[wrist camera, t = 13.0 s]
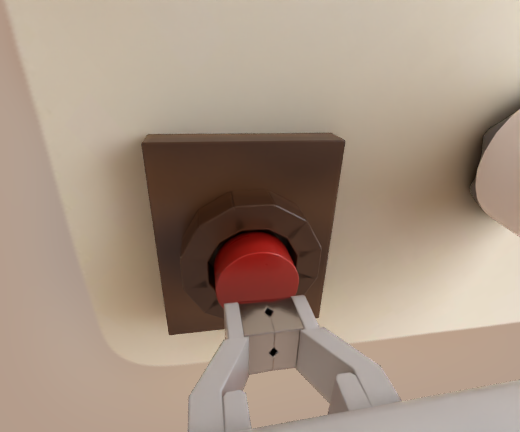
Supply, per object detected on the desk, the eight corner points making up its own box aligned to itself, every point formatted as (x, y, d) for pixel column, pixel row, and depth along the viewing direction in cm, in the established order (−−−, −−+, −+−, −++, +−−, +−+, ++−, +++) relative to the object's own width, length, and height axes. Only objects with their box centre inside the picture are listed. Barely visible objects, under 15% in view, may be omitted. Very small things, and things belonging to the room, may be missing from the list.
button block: (146, 134, 14) (132, 154, 11) (331, 132, 16) (364, 149, 12) (171, 314, 19) (165, 363, 16) (310, 299, 20) (330, 341, 17)
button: (212, 233, 13) (214, 255, 12) (291, 228, 14) (303, 249, 12) (215, 297, 15) (217, 324, 13) (286, 290, 16) (295, 315, 14)
